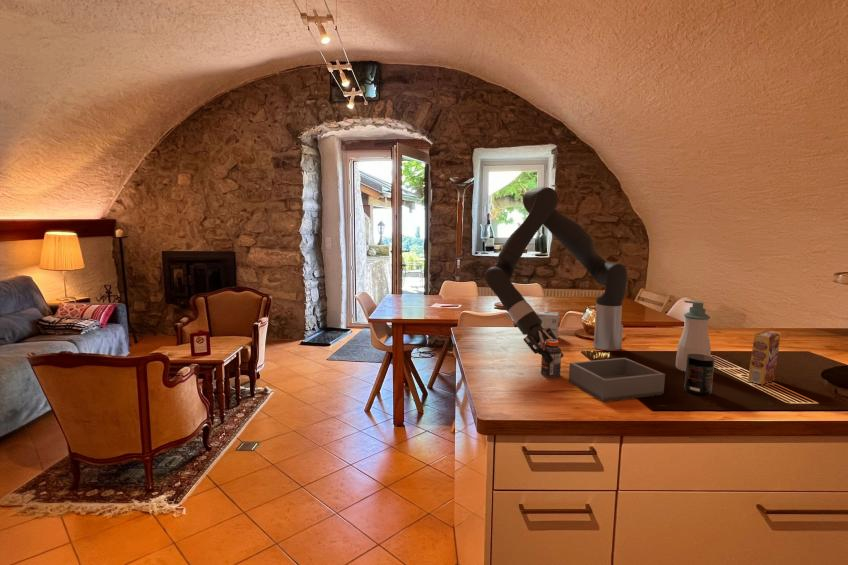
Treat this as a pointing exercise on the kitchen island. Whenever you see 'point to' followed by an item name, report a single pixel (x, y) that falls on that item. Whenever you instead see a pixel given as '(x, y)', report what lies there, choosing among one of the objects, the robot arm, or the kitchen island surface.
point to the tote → (616, 379)
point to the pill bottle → (555, 365)
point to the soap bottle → (693, 335)
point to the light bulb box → (549, 321)
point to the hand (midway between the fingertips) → (556, 359)
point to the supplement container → (699, 374)
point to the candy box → (764, 357)
